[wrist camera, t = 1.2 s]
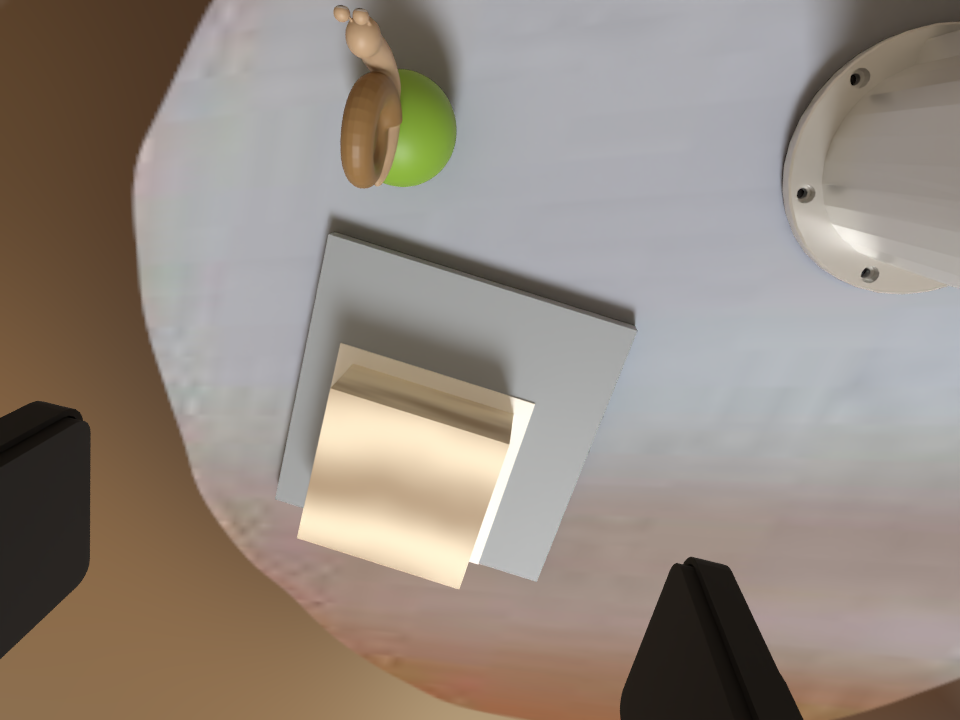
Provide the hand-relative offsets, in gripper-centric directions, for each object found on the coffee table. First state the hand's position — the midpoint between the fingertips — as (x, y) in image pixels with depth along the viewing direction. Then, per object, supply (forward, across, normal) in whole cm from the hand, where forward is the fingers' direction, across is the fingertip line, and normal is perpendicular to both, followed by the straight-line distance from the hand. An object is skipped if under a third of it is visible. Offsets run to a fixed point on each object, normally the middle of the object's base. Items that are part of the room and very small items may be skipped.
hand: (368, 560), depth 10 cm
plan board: (+27, +1, +10) cm, 28 cm away
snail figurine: (+27, +6, -7) cm, 28 cm away
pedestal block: (+26, +2, +13) cm, 29 cm away
